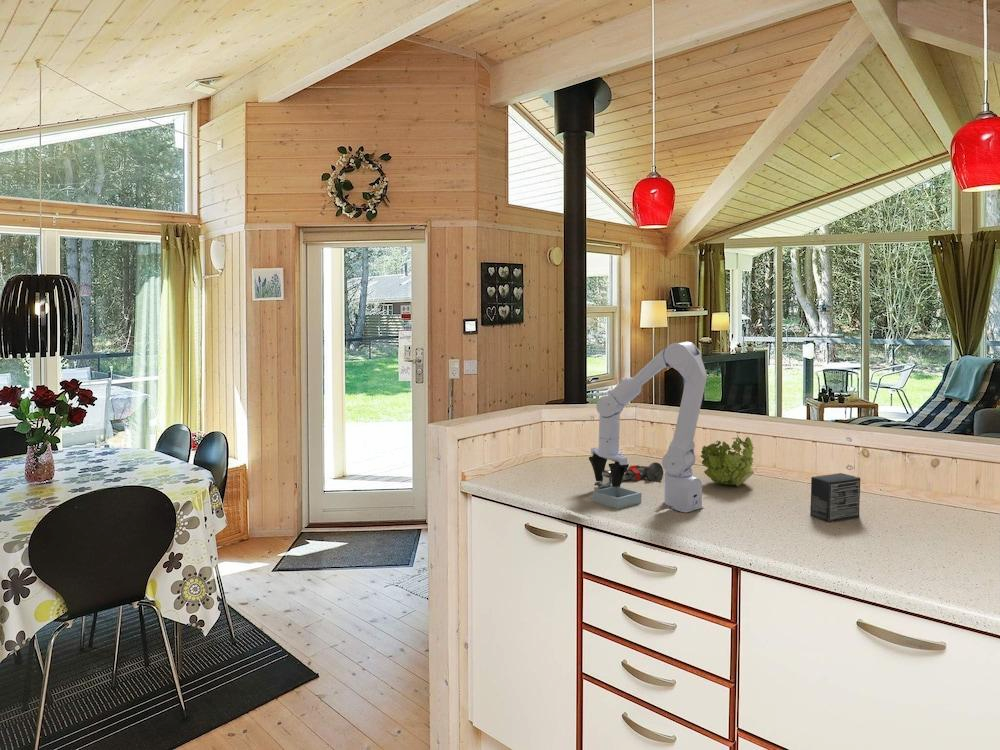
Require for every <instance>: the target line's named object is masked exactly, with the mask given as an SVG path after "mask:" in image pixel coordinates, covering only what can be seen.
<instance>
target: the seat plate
mask: <svg viewBox="0 0 1000 750" xmlns="http://www.w3.org/2000/svg"><path fill="white" fill-rule="evenodd" d="M600 489H603V486H597V487H596V486H595V487H593V491H596V490H600Z"/></svg>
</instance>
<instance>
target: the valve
mask: <svg viewBox="0 0 1000 750" xmlns="http://www.w3.org/2000/svg"><path fill="white" fill-rule="evenodd" d="M663 477H664V468H663V465H661V464H660V463H659V462H654V461H653V462H651V463H650V464H649V465H648V466H645V465H639V464H638V465H637V464H633V465H629V467H628V468H627V470H626V472H625V473H624V476H623V478H622V482H624V481H630V482H634V481H635V482H637V481H640V480H642V479H648V481H650V482H652V481H653V482H656V483H661V481H662V480H663ZM594 485H596V486H597V487H600V486H603V481H595V482H594Z"/></svg>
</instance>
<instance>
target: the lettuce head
mask: <svg viewBox="0 0 1000 750" xmlns="http://www.w3.org/2000/svg"><path fill="white" fill-rule="evenodd" d="M732 440H733V442H732V445H731V447H730V445H729V444H728V443H727V442H726V441H724V440H723V441H722V442H721V441H720V440H715V442H713V443H710V444H709V445H707V446H706V445H703V446H702V447H701V455H700V457H701V459H703V460H702V461H701V464H702V466H704V467H706V468H707V469H705V470H704V471H703V473H704V474H705V475H706V476H707V477H708V478H709V479H710V480H711V481H712V482H714V483H715V484H721V485H722V484H723V485H728V486H732V485H733V486H736V487H737V488H738V487H740V486H742V484H744V483H745V482H746V481H747V480H748V479H749V478H751V476H752V475H754V473H755V471H754V468H752V467H753V464H754V458H753V457H752V456H753V454H754V452H753V451H754V449H755V448H754V445H753V442H752V439H751V438H750V437H749V436H747V435H746V438H745V439H744V440H742V438H740V437H739V435H737V437H732ZM734 440H735V441H734ZM721 444H722V445H721ZM741 446H743V448H742V447H741Z"/></svg>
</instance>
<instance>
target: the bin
mask: <svg viewBox="0 0 1000 750" xmlns="http://www.w3.org/2000/svg"><path fill="white" fill-rule="evenodd" d="M592 502H594V503H598V504H601V505H604V506H607V507H611V508H614V509H617V510H619V509H622V508H625V507H630V506H634V505H637V504H641V503H642V492H640V491H636V490H632V489H630V488H626V487H623V486H620V487H619V486H617V487H608V488H604V489H600V490H596V491H594V490H592Z"/></svg>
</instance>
